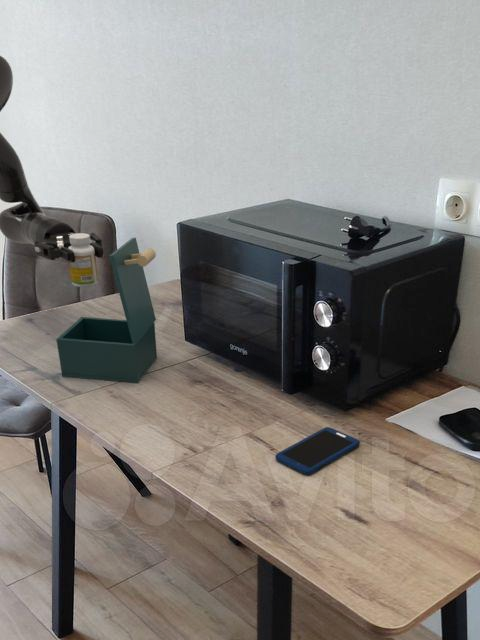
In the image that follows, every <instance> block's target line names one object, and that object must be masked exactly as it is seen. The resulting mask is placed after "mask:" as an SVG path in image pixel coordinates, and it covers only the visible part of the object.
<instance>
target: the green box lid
mask: <svg viewBox="0 0 480 640" xmlns="http://www.w3.org/2000/svg"><path fill="white" fill-rule="evenodd" d="M156 256H157V254H156V251H155V250H154V249H153V248H147V249H146V250H144V251H143V252H140V249H139V246H138V242H137V238H136V237H131V238H130V239H129V240H128V241H126V242H125V243H123V244H122V245H121V246H120V247H119V248H117V249H116V250H114V251H113V252H112V253H111V254H109V255H108V257H109V260H110V264H111V268H112V272H113V275H114V280H115V283H116V287H117V290H118V294H119V298H120V301H121V304H122V309H123V312H124V316H125V320H127V324H128V328H129V331H130V335H131V339H132V343H137V342H138V340H139V339H140V338H141V337H142V336H143V334H144V333H145V332H146V331H147V330H148V329H149V327H150V326H151V325H152V324H153V323H154V324H155V321H156V320H157V318H156V314H155V310H154V307H153V302H152V299H151V295H150V290H149V286H148V281H147V277H146V273H145V270H144V267H146V266H147V265H149V264H150V263H151V262H152V261H153V260H154V259H155V258H156Z"/></svg>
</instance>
